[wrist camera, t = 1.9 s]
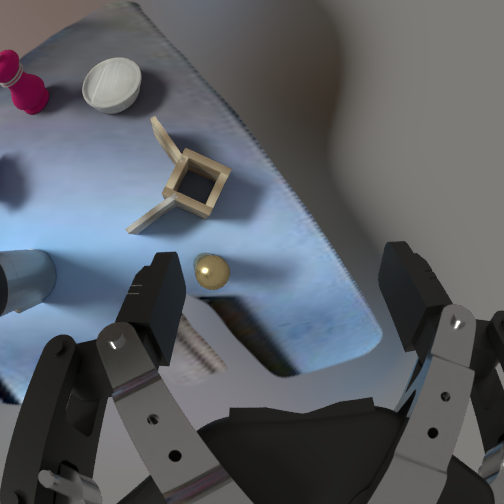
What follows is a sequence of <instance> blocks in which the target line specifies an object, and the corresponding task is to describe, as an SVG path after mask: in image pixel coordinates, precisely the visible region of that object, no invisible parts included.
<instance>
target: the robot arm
mask: <svg viewBox="0 0 504 504" xmlns="http://www.w3.org/2000/svg"><path fill="white" fill-rule="evenodd" d="M55 281H56V271H55V267H54V264H53V262H52V260H51V258H50V257H49V256H48V255H47V254H46V253H45V252H44V251H41V250H38V249H29V250H13V251H0V317H1V316H3V315H5V314H8V313H10V312H12V311H15V312H17V313H21V312H23V311H25V310H27V309H30V308H32V307H34V306H36V305H38V304H40V303H42V302H43V299H44V298H45V297H46V296H48V295H49V294H50V293H51V292H52V290H53V288H54V285H55ZM378 282H379V287H380V290H381V292H382V295H383V297H384V299H385V302H386V304H387V307H388V309H389V311H390V314H391V317H392V319H393V321H394V324H395V327H396V329H397V332H398V334H399V337H400V340H401V342H402V345H403V348H404V350H405V352H409V351H414V350H416V353H417V355H418V358H417V360H416V362H415V365H414V367H413V370H412V373H411V375H410V377H409V380H408V382H407V385H406V387H405V390H404V392H403V394H402V396H401V398H400V400H399V402H398V404H397V406H396V407H395V409H394V411H393V410H390V409H387V408H383V407H378V406H374V402H373V398H372V397H370V398H363V399H358V400H350V401H342V402H338V403H335V404H332V405H329V406H326V407H324V408H321V409H318V410H315V411H312V412H309V413H304V414H300V413H294V412H288V411H282V410H277V409H271V408H266V407H265V408H230V412H229V417H225V418H222V419H218V420H215V421H213V422H211V423H209V424H207V425H205V426H203V427H202V428H200V429H199V430H197V431H195V429H194V428H193V426H192V425H191V424H190V422H189V420H188V419H187V417H186V416H185V414H184V413H183V411H182V410H181V408H180V407H179V405H178V404H177V402H176V401H175V399H174V398H173V396H172V394H171V393H170V391H169V389H168V388H167V386H166V384H165V383H164V381H163V379H162V378H161V376H160V374H159V373H158V368H159V366H169V365H170V361H171V356H172V352H173V347H174V343H175V339H176V334H177V330H178V326H179V322H180V318H181V314H182V309H183V305H184V301H185V297H186V285H185V281H184V277H183V273H182V269H181V265H180V261H179V257H178V254H177V253H176V252H159V253H156V254H155V256H154V259H153V261H152V263H151V265H150V266H144V267H143V268H142V269H141V270H140V271H139V272H138V273H137V274H136V276H135V278H134V280H133V282H132V284H131V285H132V286H130V289H129V291H128V295H126V298H125V300H124V302H123V304H122V307H121V309H120V311H119V314H118V316H117V318H116V321H115V323H112V324H110V325H108V326H106V327H105V328H104V329H103V330H102V331H101V332H100V333H99V335H98V337H97V339H96V340H92V341H87V342H82V343H78V344H76V342H75V341H74V339H73V338H72V337H71V336H69V335H58V336H56V337H54V338H52V339H51V340H50V341H49V342H48V343H47V344H46V346H45V347H44V349H43V352H42V354H41V356H40V359H39V361H38V363H37V366H36V368H35V371H34V373H33V376H32V378H31V381H30V384H29V386H28V389H27V392H26V395H25V397H24V400H23V403H22V406H21V409H20V412H19V416H18V419H17V422H16V425H15V428H14V432H13V436H12V439H11V443H10V447H9V451H8V455H7V459H6V463H5V468H4V473H3V478H2V483H1V489H0V503H1V504H102V496H101V493H100V490H99V487H98V485H97V484H96V483H95V482H94V481H93V480H92V478H93V471H94V465H95V459H96V453H97V448H98V442H99V437H100V431H101V427H102V422H103V417H104V412H105V408H106V404H107V399H108V397H112V398H113V401H114V404H115V406H116V408H117V410H118V413H119V415H120V417H121V419H122V421H123V423H124V426H125V428H126V430H127V432H128V434H129V436H130V438H131V440H132V442H133V444H134V445H135V448H136V449H137V451H138V453H139V455H140V457H141V459H142V461H143V462H144V464H145V466H146V468H147V469H148V471H149V473H150V475H149V476H148V477H147V478H146V479H145V480H144V481H143V482H141V483H140V484H139V485H138V486H137V487H136V488H135V489H133V490H132V491H131V492H130V493H129V494H128V495H126V496H125V497H124V498H123V499H122V500H120V501H119V502H118V503H117V504H504V390H503V387H502V384H501V381H500V379H499V376H498V374H497V371H496V369H495V367H496V366H497V365H498V363H499V362H500V364H501V366H502V369H503V372H504V311H498V312H496V313H495V314H494V316H493V318H492V319H491V321H485V320H478V319H475V318H474V316H473V314H472V313H471V312H470V311H469V310H468V309H466V308H465V307H463V306H461V305H456V304H453V303H452V301H451V300H450V298H449V296H448V295H447V293H446V291H445V290H444V288H443V287H442V285H441V283H440V282H439V280H438V279H437V277H436V275H435V273H434V272H432V269H431V267H430V266H429V264H428V263H427V261H426V260H425V259H423V258H422V257H421V256H420V255H418V254H417V253H413V251H412V250H411V248H410V247H409V245H408V244H407V243H406V242H405V241H399V242H398V241H397V242H387V243H386V245H385V248H384V253H383V257H382V261H381V266H380V270H379V275H378ZM70 394H71V395H70ZM69 397H70V399H69ZM469 398H471V401H472V404H473V408H474V411H475V415H476V418H477V422H478V426H479V430H480V434H481V438H482V442H483V446H484V451H485V456H484V459H483V462H482V465H481V466H480V468H479V470H478V474H477V473H476V472H475V471H473V470H472V469H471V468H469V467H468V466H467V465H466V464H464V463H463V462H462V461H460V460H459V459H458V458H456V457H455V456H454V455H453V454H452V453H453V451H454V448H455V445H456V442H457V439H458V436H459V433H460V430H461V427H462V423H463V420H464V416H465V413H466V409H467V405H468V402H469ZM68 401H69V402H68ZM67 404H68V405H67ZM66 408H67V409H66Z"/></svg>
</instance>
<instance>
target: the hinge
mask: <svg viewBox="0 0 504 504" xmlns="http://www.w3.org/2000/svg"><path fill="white" fill-rule="evenodd" d="M151 123H152V127H153V131H154V135H155V137H156V138H157V140H158V141H159V143H160V144H161V146H162V147H163V149H164V150H165V151H166V153H167V154H168V156H169V157H170V159H171V160H172V162H173V163H174V165H175V168H174V170H173V172H172V174H171V176H170V178H169V180H168V182H167V184H166V186H165V188H164V190H163V192H162V195H163V197H164V199H165V200H164V201H163V202H161V203H160V204H158V205H157V206H156V207H154V208H153V209H151V210H150V211H149V212H147V213H146V214H145V215H143V216H142V217H141V218H139V219H138V220H137V221H135V222H134V223H133V224H131V225H130V226H129V227H128V228H126V231H127V232H128V234H135V235H137V234H138V233H140V232H141V231H142V230H144V229H145V228H146V227H148V226H149V225H150V224H152V223H153V222H154V221H156V220H157V219H159V218H160V217H161V216H163V215H164V214H165V213H167V212H168V211H170V210H171V209H172V208H174V207H175V206H177V207H180V208H182V209H184V210H186V211H188V212H191V213H193V214H195V215H197V216H199V217H201V218H204V219H207V218H208V217H209V216H210V213H211V211H212V209H213V207H214V205H215V203H216V201H217V199H218V196H219V194H220V192H221V190H222V188H223V186H224V184H225V182H226V180H227V178H228V176H229V174H230V171H231V169H230V168H228V167H226V166H224V165H222V164H220V163H218V162H216V161H213V160H211V159H209V158H207V157H205V156H203V155H200V154H198V153H196V152H194V151H192V150H189V149H187V148H185V149H184V151H183V153H182V154H181V153H180V151H179V150H178V148H177V147H176V145H175V144H174V143H173V141H172V140H171V138H170V137H169V135H168V134H167V133H166V131H165V130H164V128H163V127H162V126H161V124H160V123H159V121H158V120H157V118H156V117H155V116H154V117H152V118H151ZM188 170H189V171H191V172H193V173H196V174H198V175H200V176H202V177H204V178H206V179H209V180H211V181H213V182H215V185H214V187H213V189H212V191H211V193H210V195H209V197H208V199H207V201H206V204H203V203H201V202H199V201H196V200H194V199H192V198H190V197H188V196H186V195H183V194H181V193H179V192H177V191H178V189H179V187H180V185H181V183H182V181H183V179H184V177H185V175H186V173H187V171H188Z"/></svg>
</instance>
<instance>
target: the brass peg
mask: <svg viewBox="0 0 504 504" xmlns="http://www.w3.org/2000/svg"><path fill="white" fill-rule="evenodd" d="M194 269H195V275H196V279H197V281H198V282H199V284H200V285H201V286H202V287H204V288H206V289H209V290H216V289H219V288H221V287H223V286H224V285H225V284H226V283H227V281H228V279H229V276H230V269H229V266H228V264H227V262H226V261H225V260H224V259H223V258H221V257H219V256H216V255H211V254H209V253H201V254H199V255H198V256H197V257H196V258H195V260H194Z"/></svg>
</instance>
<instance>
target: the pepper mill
mask: <svg viewBox="0 0 504 504" xmlns="http://www.w3.org/2000/svg"><path fill="white" fill-rule="evenodd" d="M0 85H2V86H3V87H5V88H6V87H8V88H9V89H10V90H11V95H12V100H13V103H14V105H15V106H16V107H17V108H18V109H20V110H24V111H25V112H26V113H28V114H30V115H32V114H36V113H38V112H40V111H41V110H42V109H43V108H44V107H45V106H46V104H47V102H48V99H49V92H48V90H47V89H46V88H45V86H44V82H43V80H42V79H41V78H39V77H38V76H36V75H32V74H27V73H25V72H24V71H23V65H22V64H21V63H20V62H19V57H18V54H17V53H16V52H14V51H13V50H5V51H2V52H0Z"/></svg>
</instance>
